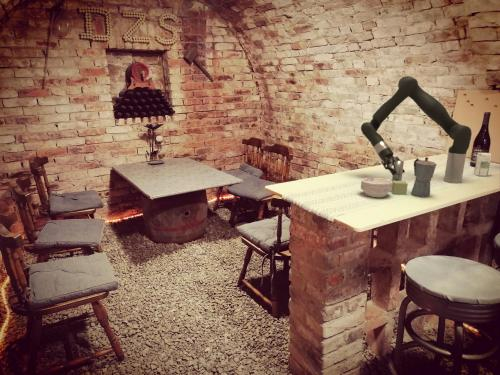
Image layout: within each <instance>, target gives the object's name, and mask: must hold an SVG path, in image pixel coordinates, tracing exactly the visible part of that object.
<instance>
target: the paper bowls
mask: <svg viewBox="0 0 500 375" xmlns="http://www.w3.org/2000/svg"><path fill="white" fill-rule="evenodd" d="M392 184H393V182H392V179H387V178H383V177H363V178H361V180H360V190H362V191H364V195H366V196H368V197H372V198H384V197H386V196H387V195H388V194H389V193H392V192H391V191H392Z"/></svg>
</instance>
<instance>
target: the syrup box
mask: <svg viewBox="0 0 500 375" xmlns="http://www.w3.org/2000/svg"><path fill="white" fill-rule="evenodd" d="M491 161H492V154H491V153H490V152H477V155H476V159H475V165H474V171H473V175H475V176H478V177H488V174H489V170H490V169H489V168H490V165H491Z"/></svg>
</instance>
